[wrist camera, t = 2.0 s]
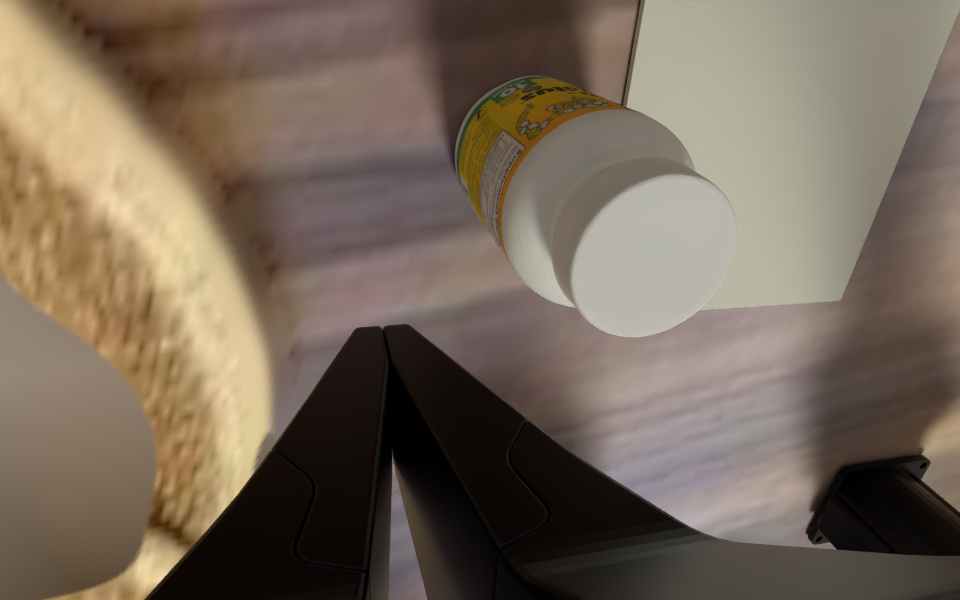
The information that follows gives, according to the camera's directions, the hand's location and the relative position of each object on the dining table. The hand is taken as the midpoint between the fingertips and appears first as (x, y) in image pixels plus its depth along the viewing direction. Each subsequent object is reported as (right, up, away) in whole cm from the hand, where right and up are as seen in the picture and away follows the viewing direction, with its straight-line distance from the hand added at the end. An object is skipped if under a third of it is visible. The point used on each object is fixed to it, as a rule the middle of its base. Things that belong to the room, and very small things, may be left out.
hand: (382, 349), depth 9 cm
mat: (+13, +7, +14) cm, 20 cm away
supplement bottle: (+3, +6, +12) cm, 14 cm away
